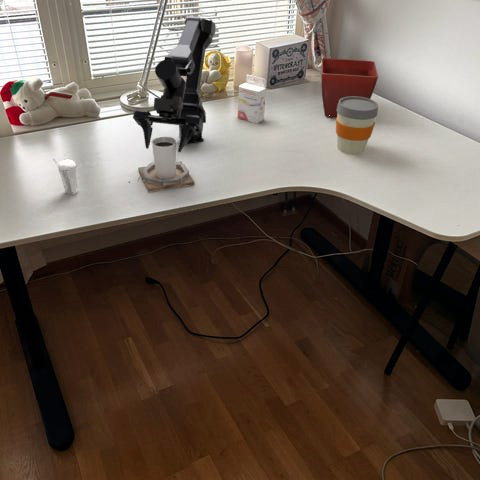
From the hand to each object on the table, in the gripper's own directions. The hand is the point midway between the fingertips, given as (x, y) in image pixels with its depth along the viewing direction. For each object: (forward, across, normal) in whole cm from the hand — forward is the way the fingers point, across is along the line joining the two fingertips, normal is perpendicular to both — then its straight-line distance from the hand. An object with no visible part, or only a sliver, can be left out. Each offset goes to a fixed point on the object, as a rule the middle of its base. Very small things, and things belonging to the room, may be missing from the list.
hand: (162, 150), depth 143 cm
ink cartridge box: (-29, +16, +42) cm, 53 cm away
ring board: (+6, 0, +7) cm, 9 cm away
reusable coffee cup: (-18, +52, +31) cm, 63 cm away
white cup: (+5, 0, +7) cm, 8 cm away
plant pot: (-40, +48, +53) cm, 81 cm away
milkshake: (+16, -22, -3) cm, 27 cm away
